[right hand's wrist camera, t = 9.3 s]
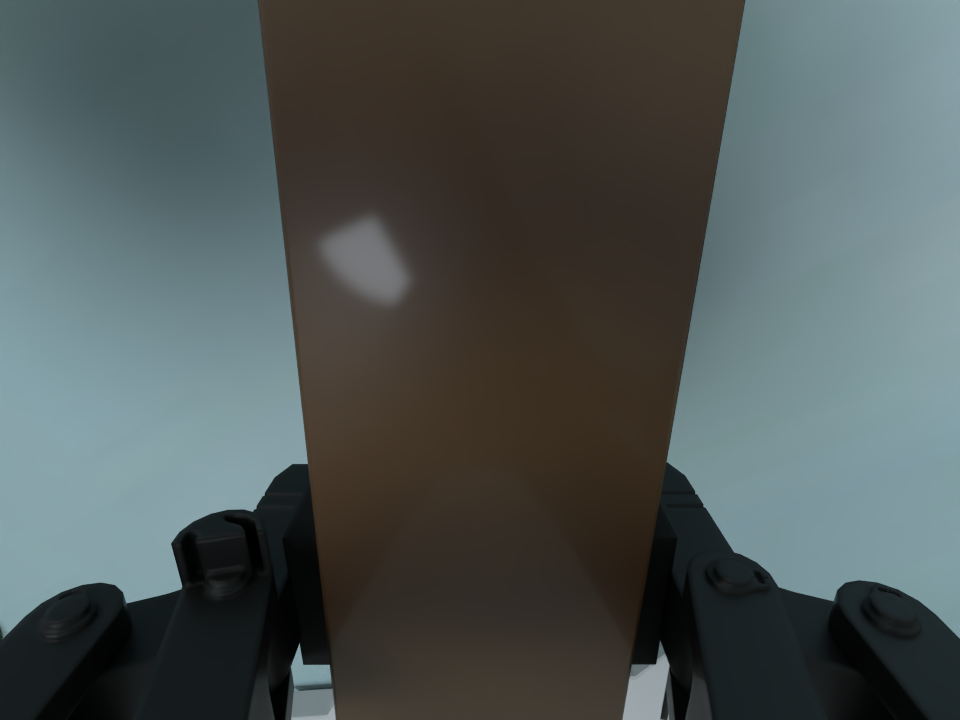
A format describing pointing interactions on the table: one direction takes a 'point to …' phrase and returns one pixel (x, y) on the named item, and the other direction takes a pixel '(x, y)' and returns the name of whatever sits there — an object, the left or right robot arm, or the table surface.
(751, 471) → the table surface
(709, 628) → the right robot arm
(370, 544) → the bar
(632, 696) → the decorative wreath
